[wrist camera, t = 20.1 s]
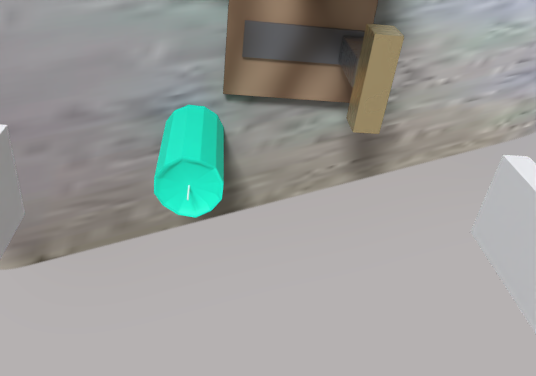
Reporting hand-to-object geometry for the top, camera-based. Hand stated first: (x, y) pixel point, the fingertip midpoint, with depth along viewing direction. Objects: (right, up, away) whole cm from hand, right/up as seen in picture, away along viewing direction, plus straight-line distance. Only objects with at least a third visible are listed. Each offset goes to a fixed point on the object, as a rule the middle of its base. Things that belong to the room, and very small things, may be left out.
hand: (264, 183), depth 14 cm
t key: (+8, +12, +32) cm, 35 cm away
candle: (-7, +6, +38) cm, 39 cm away
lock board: (+3, +14, +33) cm, 36 cm away
